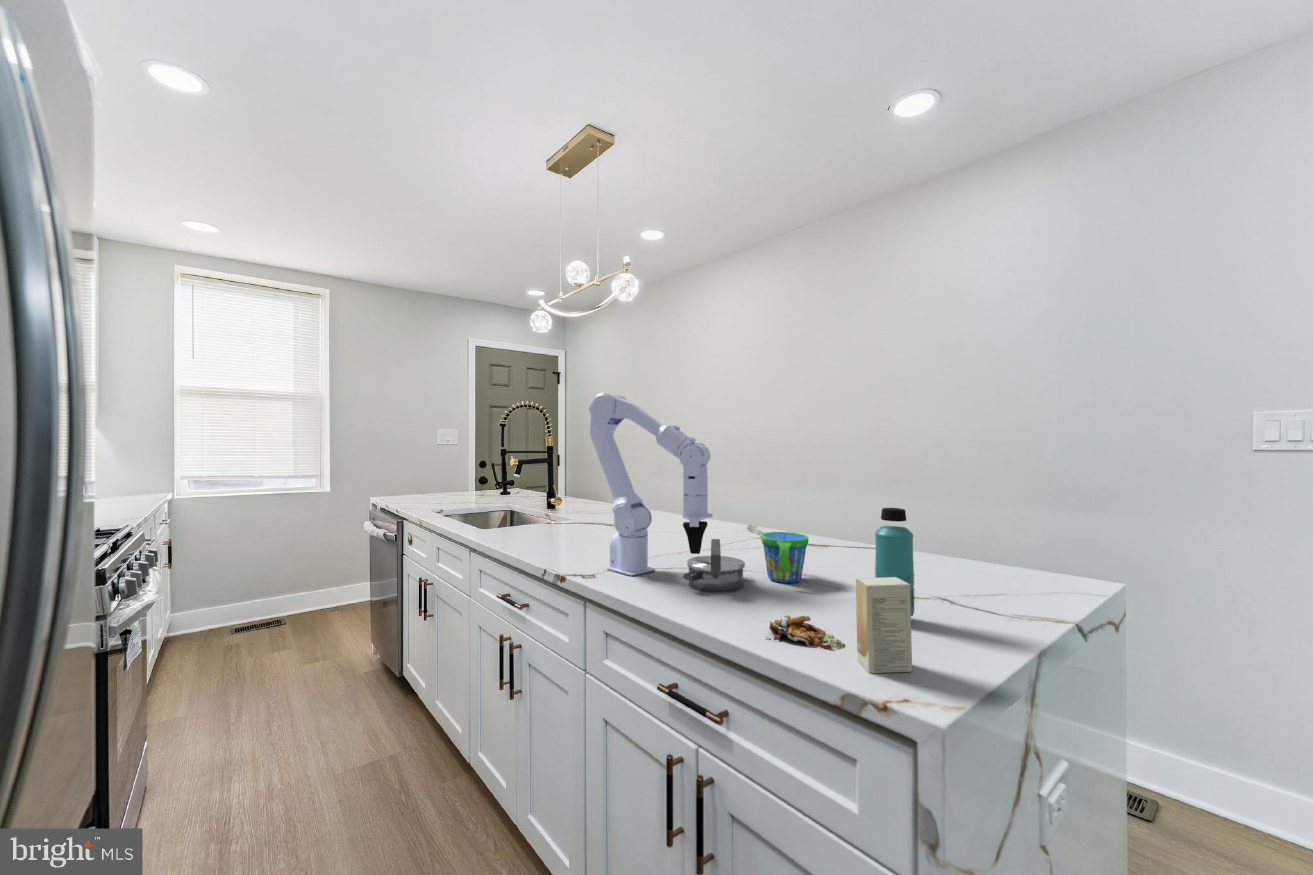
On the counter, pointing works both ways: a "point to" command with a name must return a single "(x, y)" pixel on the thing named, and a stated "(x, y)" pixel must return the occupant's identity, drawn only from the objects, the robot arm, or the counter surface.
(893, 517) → the beverage bottle
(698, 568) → the lid
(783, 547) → the snack cup
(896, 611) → the skincare box
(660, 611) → the counter surface
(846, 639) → the counter surface
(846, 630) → the counter surface
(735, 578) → the pot
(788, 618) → the brown lumpy piece
